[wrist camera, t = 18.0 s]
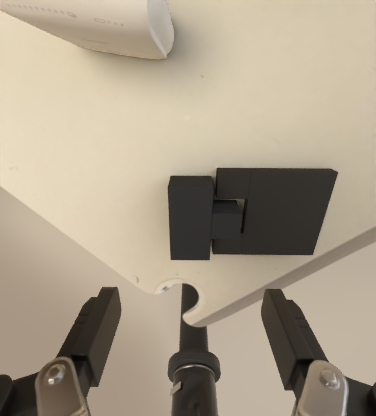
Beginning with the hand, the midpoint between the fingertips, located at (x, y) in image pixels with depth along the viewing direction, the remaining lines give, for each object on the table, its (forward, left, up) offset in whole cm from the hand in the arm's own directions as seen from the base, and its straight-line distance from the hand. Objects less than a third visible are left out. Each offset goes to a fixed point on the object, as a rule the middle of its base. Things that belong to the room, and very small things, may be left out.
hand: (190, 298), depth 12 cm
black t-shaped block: (-4, -2, -18) cm, 19 cm away
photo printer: (+16, +7, -18) cm, 25 cm away
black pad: (-4, -10, -18) cm, 21 cm away
